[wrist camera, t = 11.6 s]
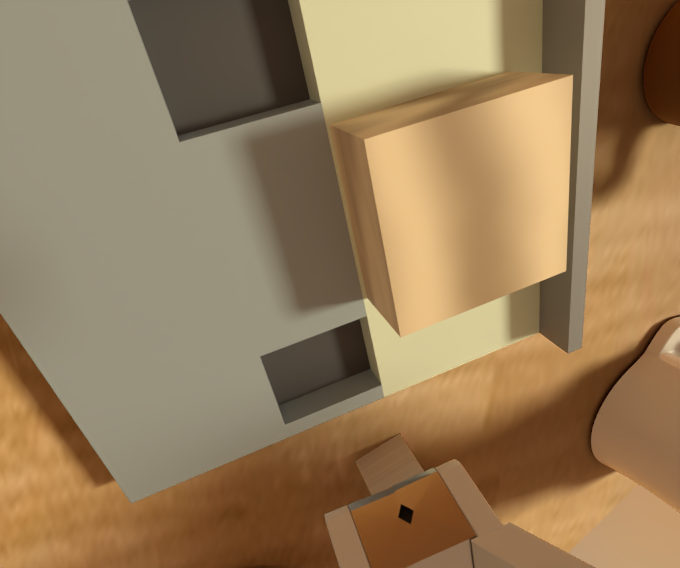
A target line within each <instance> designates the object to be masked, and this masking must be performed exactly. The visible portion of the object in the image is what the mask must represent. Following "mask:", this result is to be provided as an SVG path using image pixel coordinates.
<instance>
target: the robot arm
mask: <svg viewBox="0 0 680 568" xmlns="http://www.w3.org/2000/svg"><path fill="white" fill-rule="evenodd" d="M591 447H592V452H593V454H594V456H595V458H596V459H597V460H598V461H599V462H601V463H602V464H604V465H606V466H608V467H610V468H612V469H614V470H616V471H617V472H619V473H621V474H623V475H624V476H626V477H628V478H630V479H631V480H633V481H634V482H636V483H638V484H639V485H641V486H642V487H644V488H645V489H647V490H648V491H650V492H651V493H653V494H654V495H656V496H657V497H658V498H660V499H661V500H663V501H664V502H666V503H667V504H668V505H670V506H671V507H672V508H674V509H675V510H676V511H678V512H679V513H680V317H676V318H673V319H671V320H669V321H667V322H666V323H665V324H664V325H663V326H662V327H661V328H660V330H659V331H658V332H657V334H656V335H655V337H654V338H653V340H652V341H651V343H650V345H649V346H648V348H647V350H646V351H645V353H644V354H643V355H642V356H641V357H640V358H639V359H638V361H637V362H636V363H635V364H634V365H633V366H632V367H631V368H630V369H629V370H628V371H627V372H626V373H625V374H624V375H623V376H622V377H621V378H620V380H619V381H618V382H617V383H616V385H615V386H614V387H613V389H612V390H611V391H610V393H609V394H608V396H607V397H606V399H605V401H604V402H603V404H602V406H601V408H600V410H599V412H598V414H597V417H596V419H595V422H594V425H593V429H592V435H591ZM324 515H325V521H326V525H327V528H328V532H329V535H330V538H331V541H332V545H333V548H334V551H335V554H336V558H337V561H338V564H339V567H340V568H595V567H593V566H591V565H589V564H587V563H586V562H584V561H582V560H580V559H578V558H576V557H574V556H572V555H570V554H569V553H567V552H565V551H563V550H561V549H559V548H557V547H555V546H554V545H552V544H550V543H548V542H546V541H544V540H542V539H540V538H538V537H537V536H535V535H533V534H531V533H529V532H527V531H525V530H523V529H521V528H520V527H518V526H516V525H514V524H512V523H510V522H509V523H507V524H504V525H503V524H502V523H501V521H500V520H499V518H498V517H497V515H496V514H495V512H494V511H493V510H492V508H491V507H490V505H489V504H488V502H487V501H486V499H485V498H484V496H483V495H482V493H481V492H480V490H479V489H478V488H477V486H476V485H475V483H474V482H473V480H472V479H471V477H470V476H469V474H468V473H467V471H466V470H465V468H464V467H463V466H462V464H461V463H460V462H459V461H458V460H456V459H453V460H451V461H449V462H447V463H444V464H442V465H440V466H438V467H436V468H431V469H429V470H427V471H424V472H422V473H420V474H418V475H415V476H413V477H411V478H409V479H406V480H404V481H402V482H399V483H397V484H395V485H393V486H391V487H390V488H388V489H385V490H383V491H380V492H378V493H375V494H373V495H370V496H368V497H365V498H363V499H360V500H358V501H355V502H353V503H351V504H348V506H347V505H345V506H343V507H340V508H338V509H336V510H333V511H331V512H328V513H326V514H324Z"/></svg>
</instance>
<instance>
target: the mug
mask: <svg viewBox="0 0 680 568" xmlns="http://www.w3.org/2000/svg"><path fill="white" fill-rule="evenodd" d="M643 88H644V94H645V98H646V101H647V104H648V106H649V108H650V109H651V110H652V112H653V113H654V114H655V115H656V116H657V117H658V118H659V119H661V120H663V121H665V122H667V123H669V124H673V125H678V126H680V0H679V1H678V2H677V3H676V4H675V5H674V6H673V7H672V8H671V10H670V11H669V12H668V13H667V15H666V16H665V17H664V19H663V20H662V22H661V24H660V25H659V27H658V29H657V31H656V33H655V35H654V37H653V39H652V41H651V44H650V47H649V50H648V53H647V56H646V61H645V65H644V73H643Z"/></svg>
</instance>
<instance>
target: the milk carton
mask: <svg viewBox="0 0 680 568" xmlns="http://www.w3.org/2000/svg"><path fill="white" fill-rule="evenodd" d="M355 463H356V465H357V467H358V469H359V471H360V473H361V475H362V477H363V479H364V481H365V483H366V486H367V488H368V490H369V492H370V494H371V495H373V494H375V493H378V492H380V491H383V490H385V489H388V488H390V487H391V486H393V485H395V484H397V483H399V482H402V481H404V480H406V479H409V478H411V477H413V476H415V475H418V474H420V473H422V472H424V470H423V469H422V467H421V465H420V464H419V462H418V461H417V459H416V458H415V456H414V454H413V453H412V451H411V450H410V448H409V447H408V445H407V443H406V442H405V440H404V439H403V437H402V436H401V434H400V433H399V434H398V435H396V436H395V437H393V438H391V439H390V440H388V441H386V442H385V443H383V444H382V445H380V446H378V447H377V448H375V449H374V450H372V451H370V452H369V453H367V454H365V455H364V456H362V457H361V458H359V459H357V460H356V461H355Z"/></svg>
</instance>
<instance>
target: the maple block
mask: <svg viewBox="0 0 680 568" xmlns="http://www.w3.org/2000/svg"><path fill="white" fill-rule="evenodd" d="M572 92H573V75H567V74H549V73H531V72H514V71H508V72H505V73H501V74H498V75H494V76H491V77H488V78H484V79H481V80H478V81H474V82H471V83H468V84H464V85H461V86H458V87H454V88H451V89H448V90H444V91H441V92H437V93H434V94H431V95H427V96H424V97H421V98H417V99H414V100H411V101H407V102H404V103H401V104H397V105H394V106H391V107H387V108H384V109H381V110H377V111H374V112H370V113H367V114H364V115H360V116H357V117H354V118H350V119H347V120H344V121H340V122H337V123H334V124H330V129H331V134H332V139H333V143H334V148H335V152H336V157H337V162H338V166H339V171H340V175H341V180H342V184H343V189H344V194H345V198H346V203H347V207H348V212H349V217H350V221H351V226H352V230H353V235H354V239H355V244H356V249H357V253H358V258H359V262H360V267H361V272H362V276H363V281H364V285H365V290H366V294H367V298H368V300H369V301H370V302H371V303H372V304H373V306H374V307H375V308H376V309H377V310H378V311H379V313H380V314H381V315H382V316H383V317H384V319H385V320H386V321H387V322H388V323H389V325H390V326H391V327H392V328H393V329H394V330H395V332H396V333H397V334H398V335H399V336H400V338H401V337H404V336H406V335H409V334H411V333H413V332H416V331H418V330H421V329H423V328H426V327H428V326H431V325H433V324H436V323H438V322H441V321H443V320H446V319H448V318H451V317H453V316H456V315H458V314H461V313H463V312H466V311H468V310H471V309H473V308H476V307H478V306H481V305H483V304H486V303H488V302H490V301H493V300H495V299H498V298H500V297H503V296H505V295H508V294H510V293H513V292H515V291H518V290H520V289H523V288H525V287H528V286H530V285H533V284H535V283H538V282H540V281H543V280H545V279H548V278H550V277H553V276H555V275H558V274H560V273H562V272H565V271H566V262H567V234H568V205H569V177H570V148H571V120H572Z"/></svg>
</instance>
